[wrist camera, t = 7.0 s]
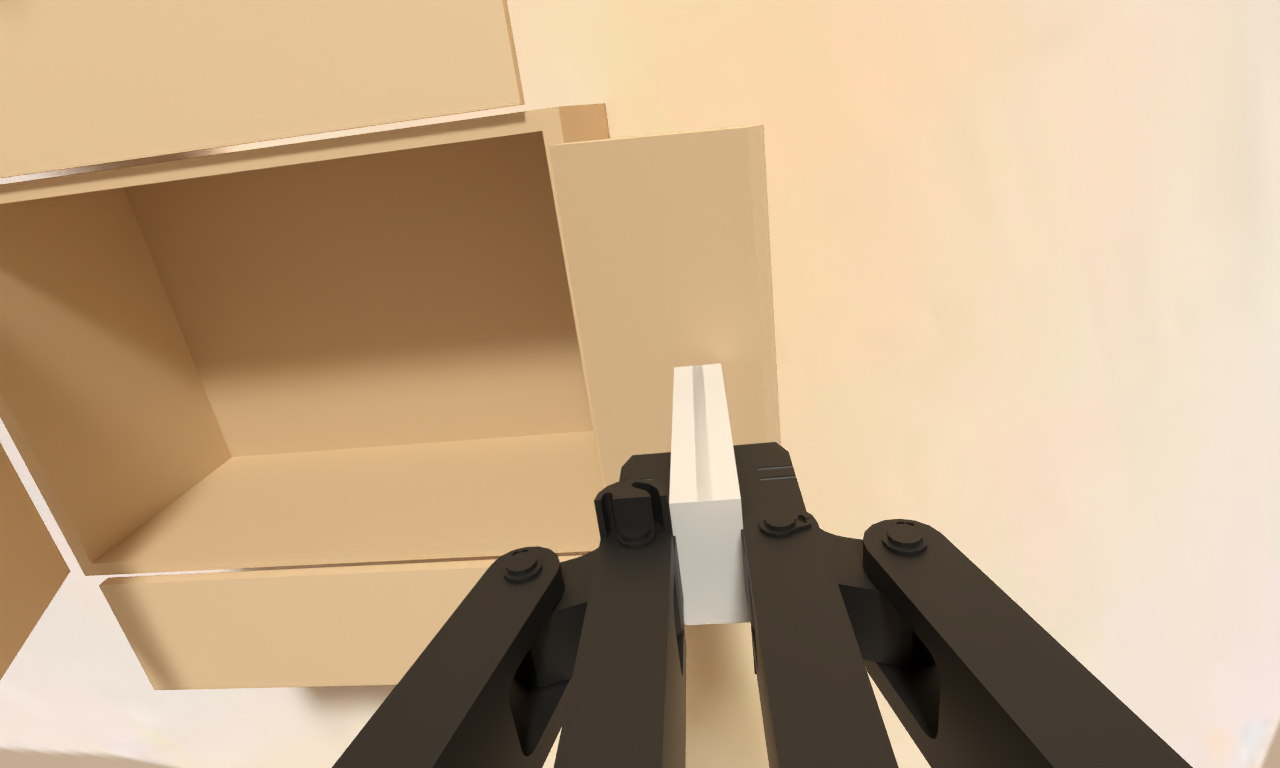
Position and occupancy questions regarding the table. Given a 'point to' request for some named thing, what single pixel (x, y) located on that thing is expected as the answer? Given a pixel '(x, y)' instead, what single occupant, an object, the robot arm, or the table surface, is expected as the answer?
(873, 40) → the table surface
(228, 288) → the carton
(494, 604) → the robot arm
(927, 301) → the table surface
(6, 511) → the flap
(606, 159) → the flap
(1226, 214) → the table surface
